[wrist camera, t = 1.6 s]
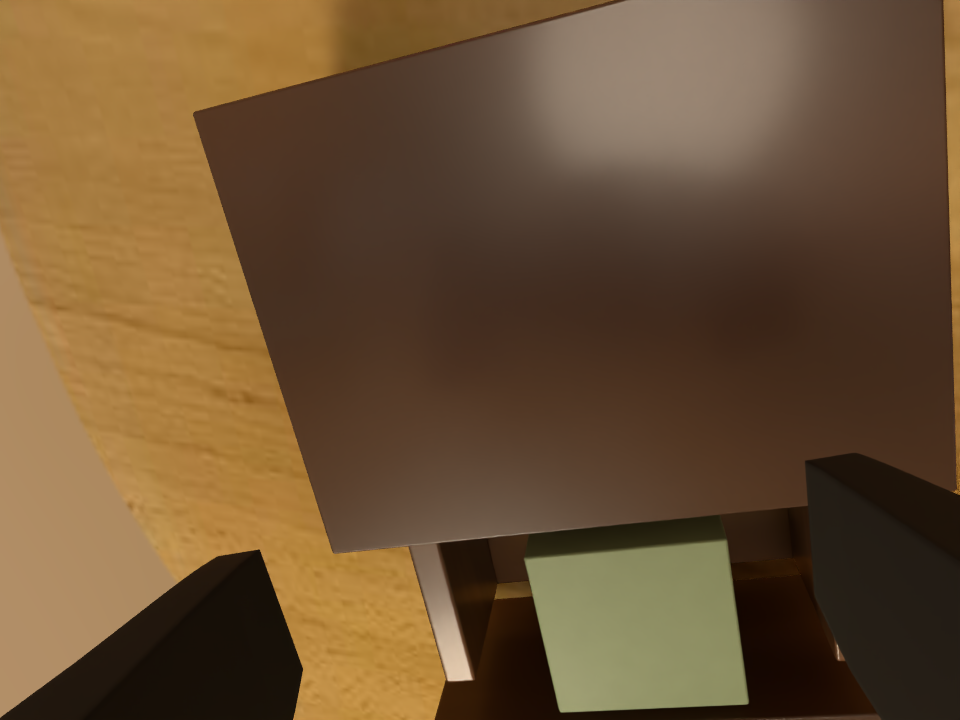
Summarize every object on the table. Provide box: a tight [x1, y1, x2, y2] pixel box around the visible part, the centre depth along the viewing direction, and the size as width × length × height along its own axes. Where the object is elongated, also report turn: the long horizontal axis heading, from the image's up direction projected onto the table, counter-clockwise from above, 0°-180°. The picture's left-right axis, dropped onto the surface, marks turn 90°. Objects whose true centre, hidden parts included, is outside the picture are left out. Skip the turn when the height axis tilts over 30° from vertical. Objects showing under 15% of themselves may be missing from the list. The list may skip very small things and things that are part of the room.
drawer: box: [408, 506, 881, 720], centre depth 19 cm, size 10×11×5 cm
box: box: [524, 515, 749, 712], centre depth 18 cm, size 4×4×4 cm
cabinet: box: [193, 0, 957, 554], centre depth 16 cm, size 10×13×7 cm
